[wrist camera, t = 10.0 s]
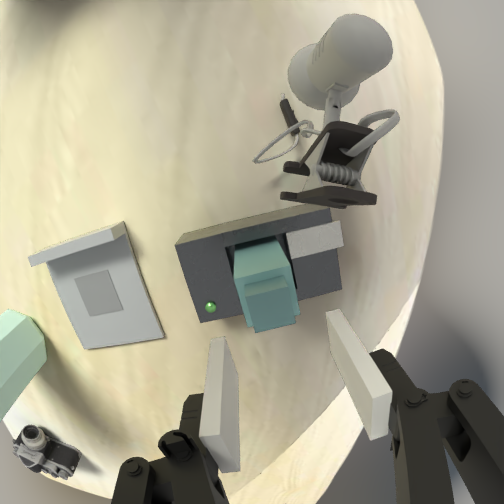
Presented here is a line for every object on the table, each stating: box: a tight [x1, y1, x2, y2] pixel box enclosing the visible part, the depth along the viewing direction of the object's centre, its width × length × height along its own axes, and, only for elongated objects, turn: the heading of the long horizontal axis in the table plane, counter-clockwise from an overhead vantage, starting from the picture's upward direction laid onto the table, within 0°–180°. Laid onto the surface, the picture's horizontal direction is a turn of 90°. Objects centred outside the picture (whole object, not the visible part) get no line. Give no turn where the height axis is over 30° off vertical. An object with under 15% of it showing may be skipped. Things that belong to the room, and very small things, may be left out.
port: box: [175, 204, 344, 323], centre depth 29 cm, size 8×15×5 cm, turn 103°
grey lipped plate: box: [28, 221, 164, 349], centre depth 30 cm, size 14×12×4 cm
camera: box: [13, 425, 81, 480], centre depth 35 cm, size 16×8×10 cm, turn 80°
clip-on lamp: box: [253, 14, 400, 209], centre depth 19 cm, size 12×6×18 cm, turn 172°
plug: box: [234, 235, 300, 333], centre depth 25 cm, size 4×4×12 cm
